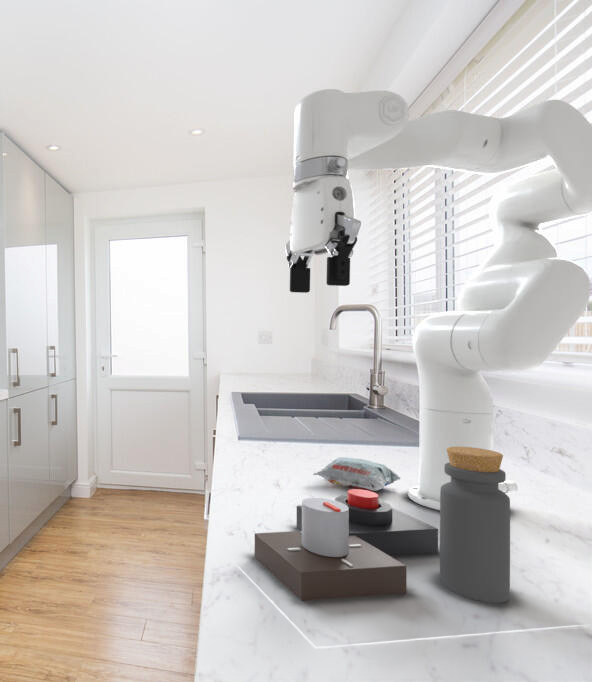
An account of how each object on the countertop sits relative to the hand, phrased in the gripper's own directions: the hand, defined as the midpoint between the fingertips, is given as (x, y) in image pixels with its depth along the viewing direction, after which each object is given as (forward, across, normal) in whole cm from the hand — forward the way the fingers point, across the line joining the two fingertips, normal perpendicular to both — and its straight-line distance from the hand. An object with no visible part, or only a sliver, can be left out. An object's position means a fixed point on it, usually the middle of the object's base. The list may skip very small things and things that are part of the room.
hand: (317, 289), depth 73 cm
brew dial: (+32, -17, +9) cm, 38 cm away
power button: (+30, -9, -1) cm, 32 cm away
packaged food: (+35, +12, -16) cm, 40 cm away
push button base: (+35, -9, -2) cm, 36 cm away
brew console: (+35, -17, +9) cm, 40 cm away
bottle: (+35, -22, -5) cm, 42 cm away
